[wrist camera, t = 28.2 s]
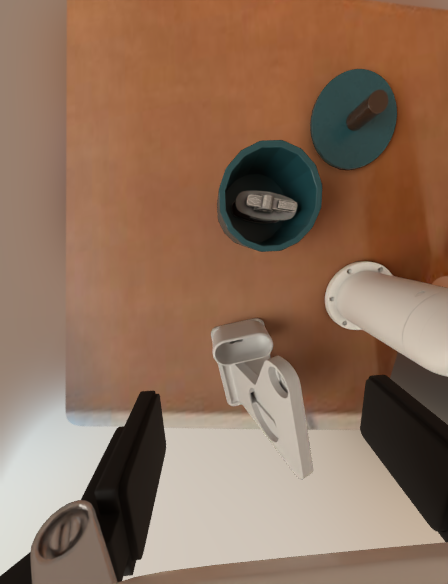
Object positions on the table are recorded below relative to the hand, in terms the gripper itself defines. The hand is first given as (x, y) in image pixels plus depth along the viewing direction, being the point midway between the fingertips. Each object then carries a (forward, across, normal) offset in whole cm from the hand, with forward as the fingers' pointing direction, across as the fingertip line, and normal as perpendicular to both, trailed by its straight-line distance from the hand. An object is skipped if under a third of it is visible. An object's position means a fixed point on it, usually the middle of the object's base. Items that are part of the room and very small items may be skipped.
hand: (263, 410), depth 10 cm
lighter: (+30, -5, -11) cm, 32 cm away
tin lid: (+30, -20, -23) cm, 43 cm away
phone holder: (+31, -3, +16) cm, 35 cm away
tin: (+30, -5, -12) cm, 33 cm away
